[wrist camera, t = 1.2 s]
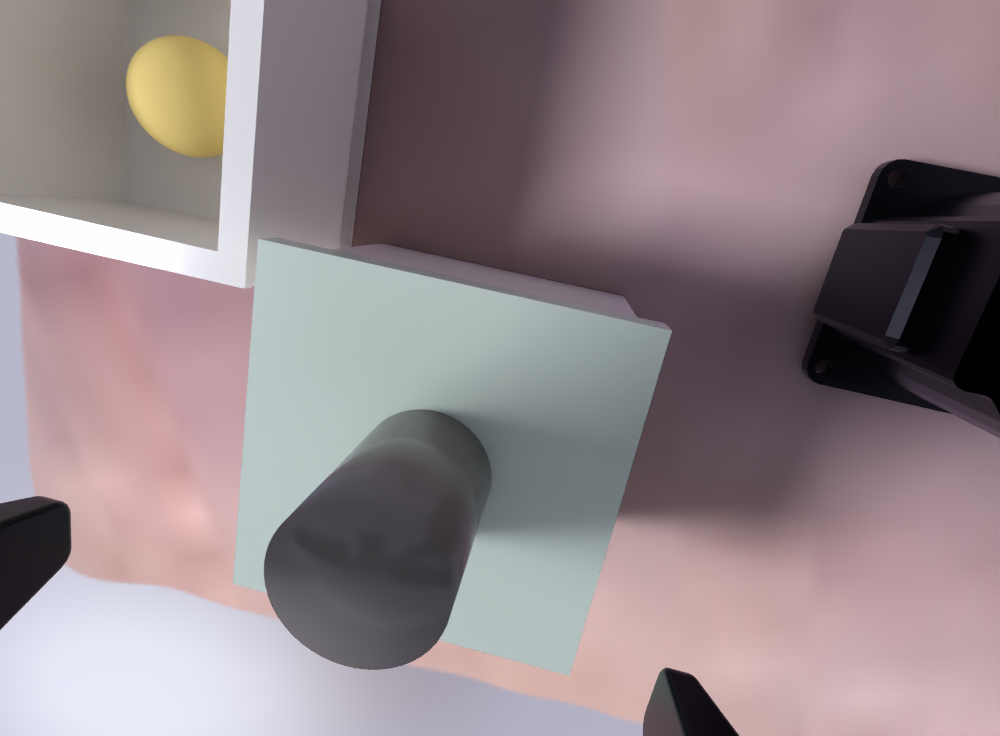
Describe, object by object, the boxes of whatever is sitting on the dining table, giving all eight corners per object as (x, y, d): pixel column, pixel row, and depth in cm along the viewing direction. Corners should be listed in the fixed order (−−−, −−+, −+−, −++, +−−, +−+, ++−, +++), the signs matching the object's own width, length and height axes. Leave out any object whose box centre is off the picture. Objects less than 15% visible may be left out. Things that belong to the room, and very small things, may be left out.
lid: (665, 323, 11) (725, 391, 7) (570, 650, 14) (566, 864, 9) (277, 237, 12) (95, 248, 8) (251, 564, 15) (101, 723, 10)
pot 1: (381, -5, 16) (273, -130, 10) (348, 267, 18) (244, 288, 13) (129, -51, 17) (-107, -195, 11) (127, 217, 19) (-69, 216, 13)
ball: (276, 64, 16) (210, 29, 13) (268, 171, 17) (204, 161, 14) (180, 45, 16) (95, 7, 13) (177, 152, 17) (96, 138, 14)
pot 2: (623, 296, 17) (647, 333, 12) (565, 515, 20) (560, 638, 14) (381, 243, 18) (289, 254, 12) (352, 461, 20) (262, 557, 14)
